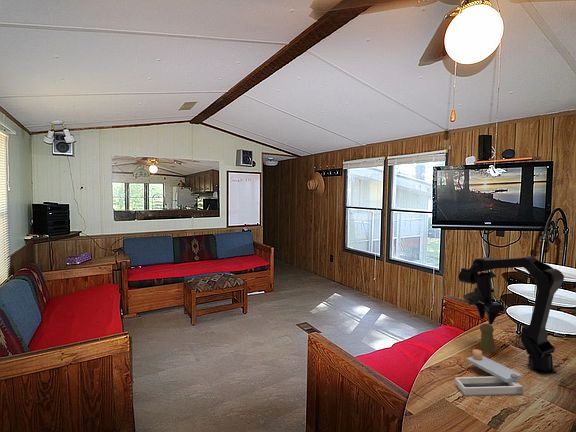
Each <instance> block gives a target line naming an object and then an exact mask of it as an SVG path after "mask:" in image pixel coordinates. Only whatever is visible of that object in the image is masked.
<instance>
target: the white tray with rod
mask: <svg viewBox="0 0 576 432" xmlns="http://www.w3.org/2000/svg"><path fill="white" fill-rule="evenodd" d="M454 384H455V386H456V387H457V388H458V389H459V391H460V392H461V393H462V394H463V395H464V396H465V397H467V396H469V397H470V396H499V395H500V396H501V395H502V396H503V395H506V396H507V395H523V394H524V390H523V388H524V387H523V386H522V385H521V384H520V383H519V382H517V381H516V380H514V381H510V382H507V383H506V382H505V381H503V380H501V379H499V378H497V377H495V376H493V375H491V376H468V377H467V376H463V377H462V376H461V377H460V376H459V377H458V376H457V377H454Z"/></svg>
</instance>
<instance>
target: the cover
mask: <svg viewBox="0 0 576 432" xmlns="http://www.w3.org/2000/svg"><path fill="white" fill-rule="evenodd" d="M465 361H466V362H468V363H470V364H471V365H473V366H475V367H476V368H478V369H481V370H483V371H484V372H486V373H488V374H490V375H491V376H495V377H497V378H499V379H501V380H503V381H505V382H506V383H507V382H510V381H514V380H515V381H516V380H517V381H518V380H520V379H523V375H522V374H520V373H519V372H518V371H517V372H516V371H515V370H512V369H511V368H509V367H506V366H504V364H503V365H502V364H500V363H498V362H496V361H494V360H492V359H490V358H488V357H486V356H484V355H483V351H481V350H480V349H478V348H475V349H474V348H473V349H472V356H470V357H466V359H465Z"/></svg>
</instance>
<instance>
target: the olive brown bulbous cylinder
mask: <svg viewBox="0 0 576 432" xmlns="http://www.w3.org/2000/svg"><path fill="white" fill-rule="evenodd" d="M494 329H495V328H494V327H493V325H490V324H489V323H488V324H487V323H484V324H483V323H482V324H480V326H479V330H480V342H479V344H480V345H479V346H480V347H479V350H481V351H482V353H487V352H488V353H487V354H493V353H494V352H495V353H496V352H497V349H496V343H495V339H494V335H493V334H494Z"/></svg>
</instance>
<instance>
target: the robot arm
mask: <svg viewBox="0 0 576 432" xmlns="http://www.w3.org/2000/svg"><path fill="white" fill-rule="evenodd" d="M512 268H514V269H515V268H524V269H525V270H526V272H528V273H529V275H530V276H531V277H532V278H534V280H535V285H536V289H537V294H536V298H535V302H534V303H535V304H534V307H533V311H532V316H531V319H530V322H529V324H528V325H524V326H522V328H521V333H520V335H519V337H520V342H521V344H522V346H524V349H525V351H526V353H527V355H528V363H527V367H529V368H530V369H532V370H533V371H534V372H536V374H539V375H540V374H557V370H554V367H553V366H554V365H553V364H554V363H553V353H555V350H556V347H555V346H554V345H553V344H552V343H551V342H550V341H549V339H548V332H547V329H546V327H547V323H548V319H549V315H550V312H551V307H552V303H553V301H554V296H555V294H556V292H557V291H558V290H559V289H560V287H561V286H562V284H563V282H564V279H565V275H564V274H563V273H562V272H561V271H560V270H559V269H557V268H554V267H552V266H551V265H549V264H547V263H545V262H543V261H541V260H539V259H537V258H536V257H534V256H530V255H529V256H524V257H522V256H521V257H510V258H507V257H506V258H495V257H489V256H484V257H480V258H475V259H473V261H472V265H471V266H470V267H469V268H467V267H462V268H461V269H460V271H459V273H458V276H457V277H458V280H459V282H461V283H462V284H463V283H464V284H468V285H469V284H470V285H475V284H476V287H474V288H473V291H472V292H471V291H470V292H468V293H465V294H464V295H462V297H463V299H464V302H465V303H466V304H468V305H470V306H471V305H474V306H475V308H476V309H477V312H478V316H479V317H480V320H483V319H484V318H485V314H486V315H487V320H488V321H487V322H488V325H491V326H493V324H494V322H495V320H496V318H497V316H498V315H499V314H500V313H502V312H505V306H504V305H503V304H502V303H499V302H498V301H497V302H496V301H495V298H494V297H493V293H495V289H493V284H492V278H493V279H494V278H496V277H497V275H496V274H495V273H494V272H493V271H491V270H495V269H512ZM486 271H488V272H486Z"/></svg>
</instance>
